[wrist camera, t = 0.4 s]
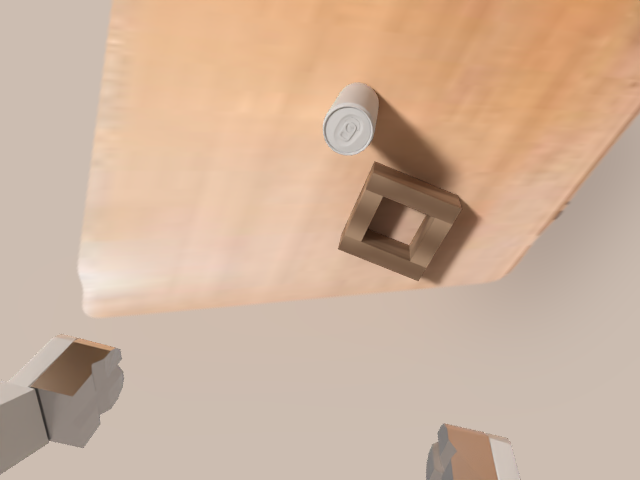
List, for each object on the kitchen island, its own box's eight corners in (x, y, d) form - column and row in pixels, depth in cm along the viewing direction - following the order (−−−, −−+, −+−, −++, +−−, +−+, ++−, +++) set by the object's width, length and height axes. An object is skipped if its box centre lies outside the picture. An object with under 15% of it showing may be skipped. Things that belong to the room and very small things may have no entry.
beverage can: (387, 98, 49) (385, 125, 38) (362, 133, 51) (353, 166, 40) (353, 72, 48) (341, 92, 37) (328, 108, 50) (311, 136, 40)
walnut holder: (374, 161, 52) (373, 172, 49) (457, 195, 53) (462, 209, 49) (341, 234, 58) (338, 249, 54) (417, 264, 58) (418, 281, 55)
